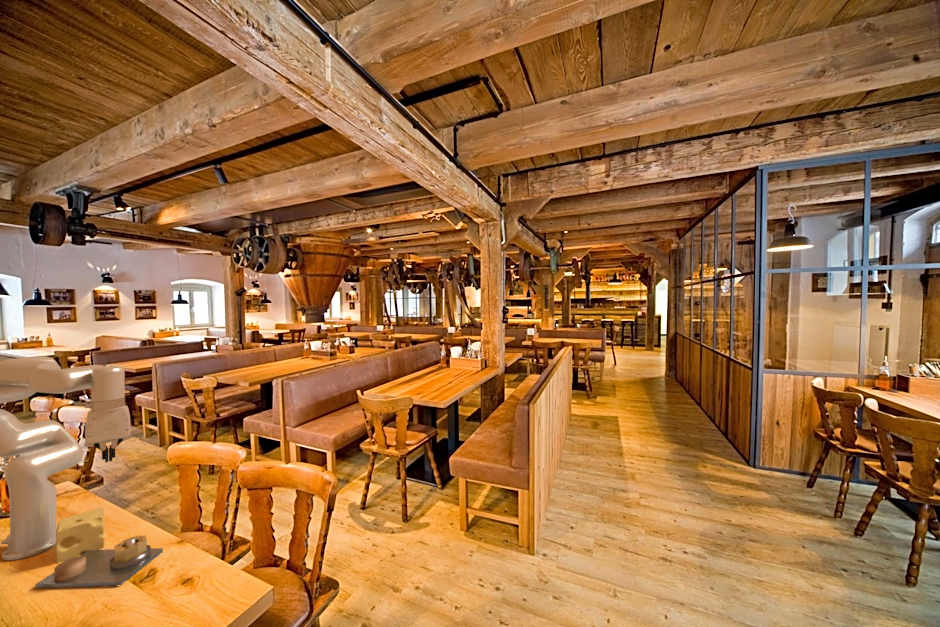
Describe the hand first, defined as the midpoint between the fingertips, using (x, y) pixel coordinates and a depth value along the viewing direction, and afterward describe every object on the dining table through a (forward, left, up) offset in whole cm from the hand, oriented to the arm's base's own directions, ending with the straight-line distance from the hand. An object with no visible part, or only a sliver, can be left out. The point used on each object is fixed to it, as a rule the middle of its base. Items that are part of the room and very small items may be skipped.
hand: (108, 460), depth 112 cm
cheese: (-10, +1, -29) cm, 31 cm away
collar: (+13, -6, -26) cm, 30 cm away
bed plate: (+7, -9, -29) cm, 31 cm away
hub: (+13, -6, -29) cm, 33 cm away
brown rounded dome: (+1, -12, -29) cm, 32 cm away
